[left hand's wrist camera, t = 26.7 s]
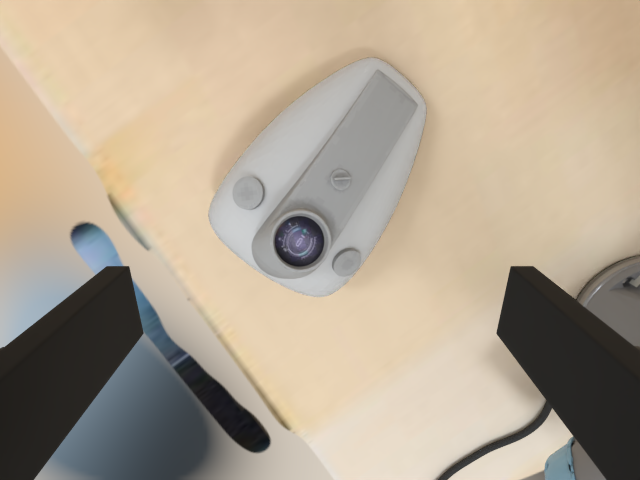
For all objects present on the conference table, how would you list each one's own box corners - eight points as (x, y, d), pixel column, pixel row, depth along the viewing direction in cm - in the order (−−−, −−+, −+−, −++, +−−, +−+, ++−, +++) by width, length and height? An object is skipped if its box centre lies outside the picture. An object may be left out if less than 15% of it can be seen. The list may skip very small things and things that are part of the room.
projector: (431, 254, 43) (483, 326, 29) (245, 285, 45) (213, 368, 31) (414, 49, 35) (475, 19, 21) (189, 96, 37) (112, 95, 23)
